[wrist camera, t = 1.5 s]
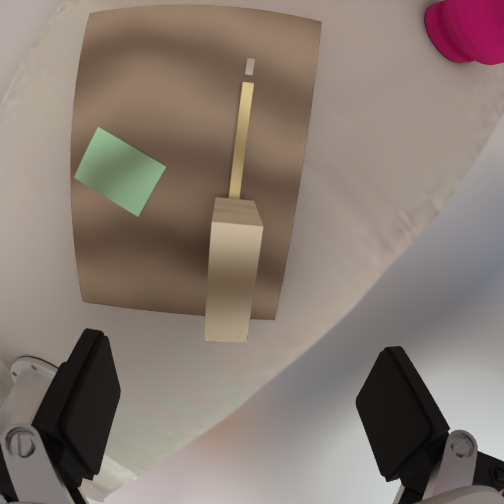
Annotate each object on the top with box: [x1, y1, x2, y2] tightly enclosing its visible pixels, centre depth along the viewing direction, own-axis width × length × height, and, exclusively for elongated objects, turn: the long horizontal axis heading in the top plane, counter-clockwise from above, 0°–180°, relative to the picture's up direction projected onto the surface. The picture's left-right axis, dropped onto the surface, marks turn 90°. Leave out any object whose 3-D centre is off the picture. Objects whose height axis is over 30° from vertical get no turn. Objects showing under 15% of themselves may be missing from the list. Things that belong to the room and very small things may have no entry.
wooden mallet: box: [204, 82, 263, 343], centre depth 17 cm, size 14×2×7 cm, turn 173°
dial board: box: [71, 5, 322, 320], centre depth 20 cm, size 24×17×2 cm
